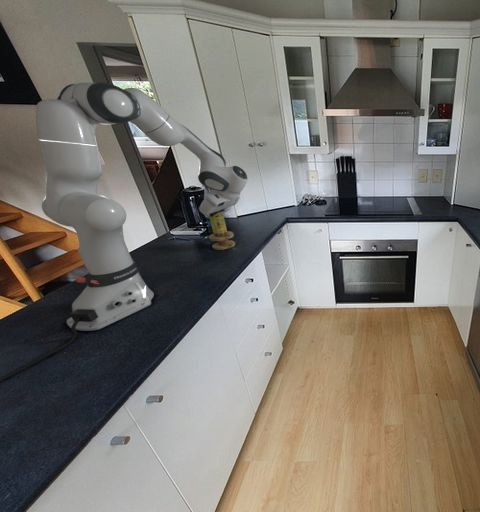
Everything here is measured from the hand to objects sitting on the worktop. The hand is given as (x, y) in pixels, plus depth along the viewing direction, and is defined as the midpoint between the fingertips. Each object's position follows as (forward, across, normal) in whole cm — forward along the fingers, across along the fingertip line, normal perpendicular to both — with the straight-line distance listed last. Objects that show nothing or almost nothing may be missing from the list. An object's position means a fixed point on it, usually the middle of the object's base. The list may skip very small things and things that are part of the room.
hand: (214, 213), depth 135 cm
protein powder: (+27, -18, -2) cm, 32 cm away
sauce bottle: (+8, 0, +9) cm, 11 cm away
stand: (+12, 0, +13) cm, 17 cm away
